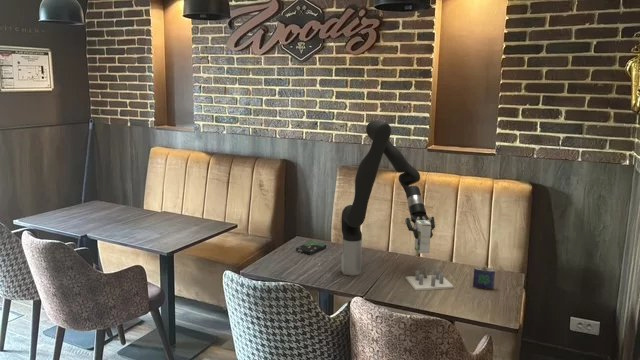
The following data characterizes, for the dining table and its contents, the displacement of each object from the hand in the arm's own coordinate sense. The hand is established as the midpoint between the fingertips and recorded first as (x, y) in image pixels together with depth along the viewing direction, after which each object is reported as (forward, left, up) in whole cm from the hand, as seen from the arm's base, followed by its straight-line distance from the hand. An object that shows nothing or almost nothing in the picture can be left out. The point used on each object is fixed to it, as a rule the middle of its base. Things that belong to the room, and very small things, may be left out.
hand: (424, 237), depth 242 cm
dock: (+2, -3, -21) cm, 22 cm away
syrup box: (0, +2, -8) cm, 8 cm away
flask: (+25, -11, -21) cm, 35 cm away
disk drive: (-46, +49, -22) cm, 71 cm away
